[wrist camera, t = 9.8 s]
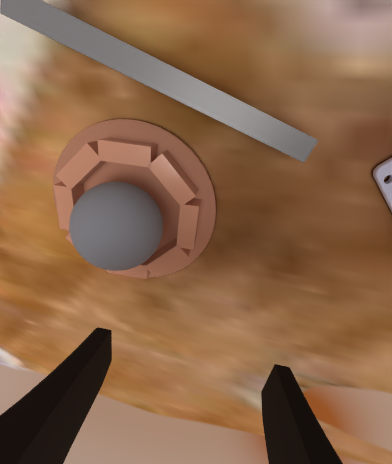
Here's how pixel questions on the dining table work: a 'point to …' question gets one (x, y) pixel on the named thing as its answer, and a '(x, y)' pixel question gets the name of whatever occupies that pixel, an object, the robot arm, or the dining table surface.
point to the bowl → (142, 185)
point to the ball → (116, 226)
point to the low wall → (158, 75)
